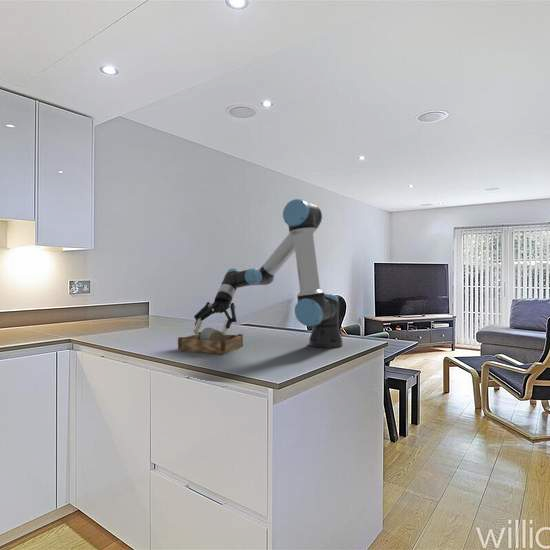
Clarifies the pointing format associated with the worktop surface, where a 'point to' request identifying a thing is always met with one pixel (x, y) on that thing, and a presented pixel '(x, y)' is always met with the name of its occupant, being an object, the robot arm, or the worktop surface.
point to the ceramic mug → (211, 335)
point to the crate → (210, 344)
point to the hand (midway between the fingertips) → (208, 333)
